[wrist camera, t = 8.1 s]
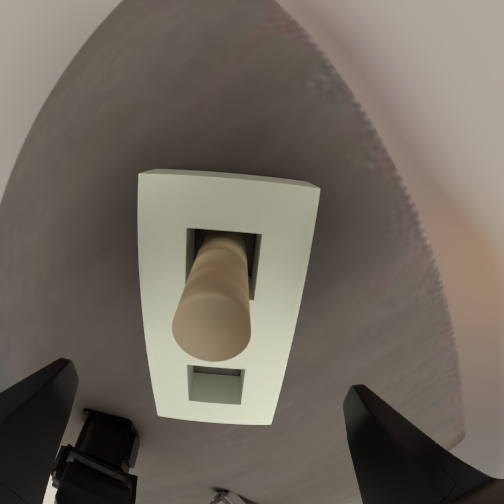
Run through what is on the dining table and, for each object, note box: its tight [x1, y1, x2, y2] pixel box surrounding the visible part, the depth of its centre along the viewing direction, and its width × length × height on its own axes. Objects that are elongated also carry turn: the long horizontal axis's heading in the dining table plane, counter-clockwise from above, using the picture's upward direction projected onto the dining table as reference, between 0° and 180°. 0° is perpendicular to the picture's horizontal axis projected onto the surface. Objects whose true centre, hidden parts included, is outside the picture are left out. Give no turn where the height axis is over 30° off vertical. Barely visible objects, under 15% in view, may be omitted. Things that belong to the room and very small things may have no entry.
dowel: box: [172, 230, 251, 362], centre depth 15 cm, size 3×3×10 cm
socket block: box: [138, 169, 321, 425], centre depth 20 cm, size 20×10×4 cm, turn 174°
